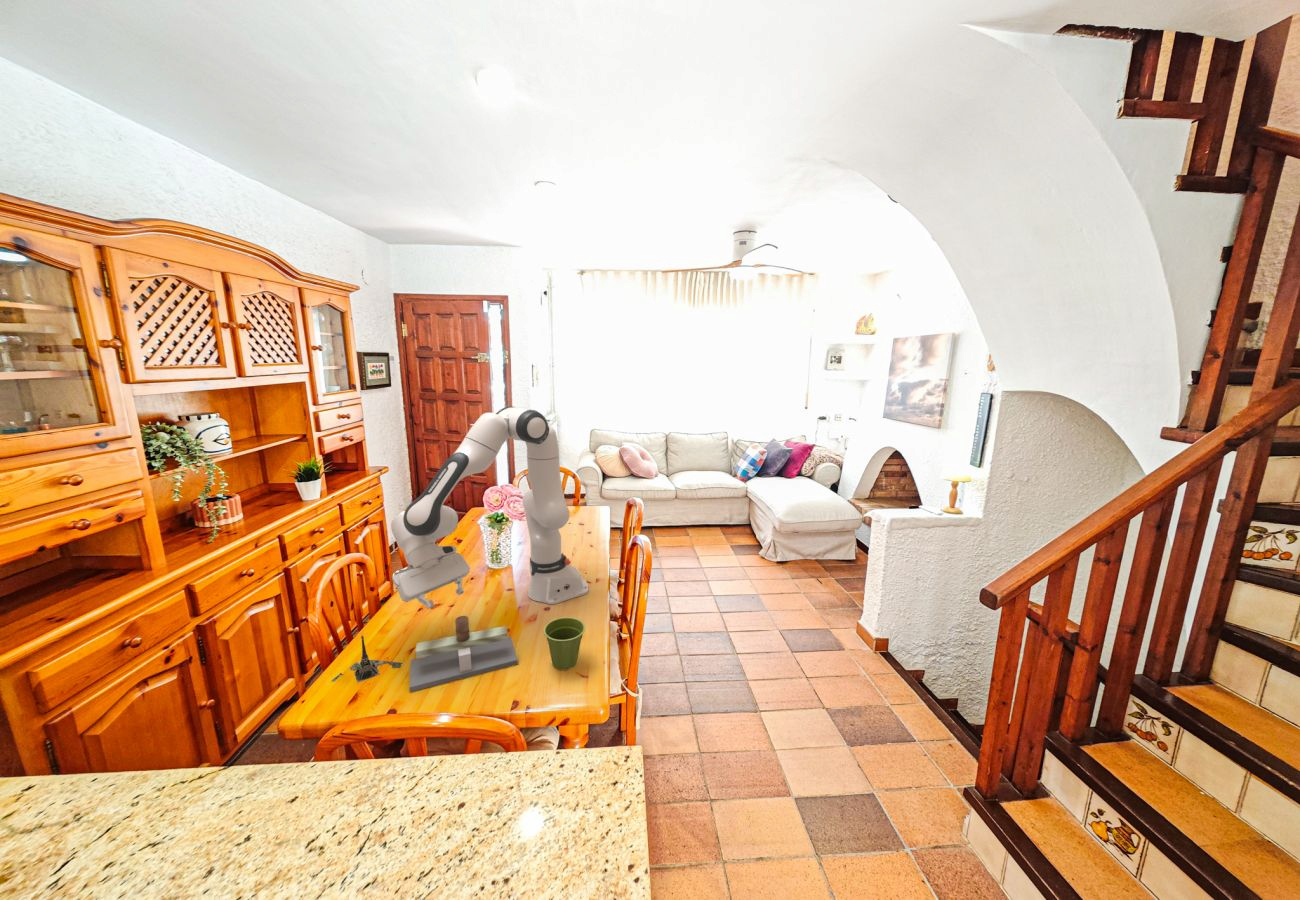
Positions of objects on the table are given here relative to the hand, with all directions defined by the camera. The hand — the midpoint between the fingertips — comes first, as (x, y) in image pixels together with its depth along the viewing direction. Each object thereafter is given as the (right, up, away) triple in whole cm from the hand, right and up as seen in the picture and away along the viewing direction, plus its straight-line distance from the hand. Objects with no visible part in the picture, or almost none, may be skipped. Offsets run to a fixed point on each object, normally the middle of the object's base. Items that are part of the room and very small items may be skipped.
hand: (446, 600), depth 133 cm
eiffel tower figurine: (-20, -19, -4) cm, 28 cm away
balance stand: (+5, -18, 0) cm, 19 cm away
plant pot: (+34, -19, +2) cm, 39 cm away
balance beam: (+5, -12, -2) cm, 13 cm away
